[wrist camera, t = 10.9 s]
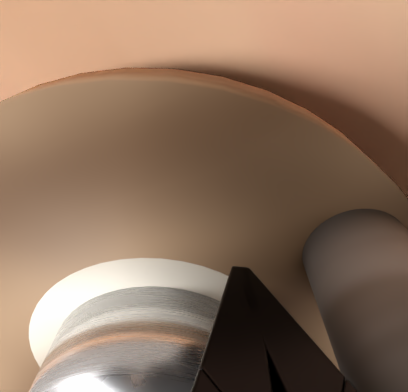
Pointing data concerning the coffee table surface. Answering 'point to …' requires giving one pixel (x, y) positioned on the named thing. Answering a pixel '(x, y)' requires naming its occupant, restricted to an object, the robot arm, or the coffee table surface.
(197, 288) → the turntable
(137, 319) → the cover
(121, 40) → the coffee table surface
